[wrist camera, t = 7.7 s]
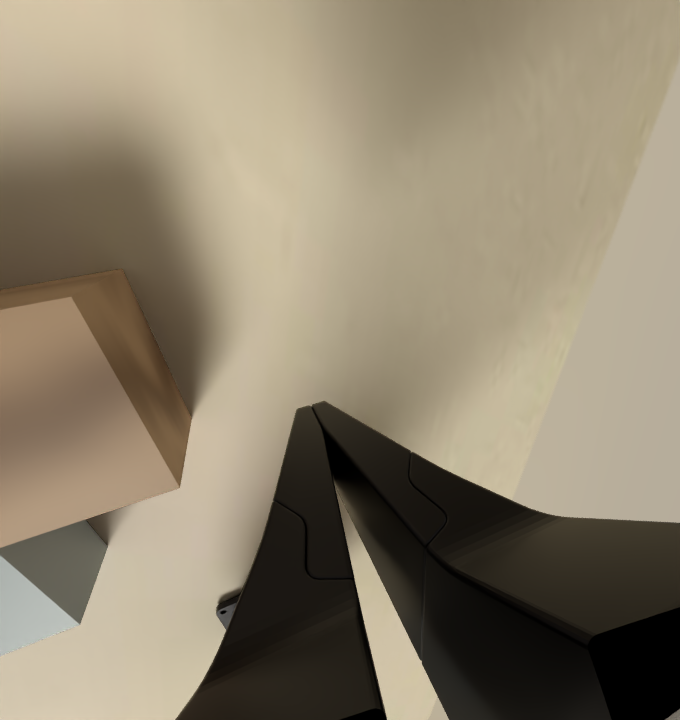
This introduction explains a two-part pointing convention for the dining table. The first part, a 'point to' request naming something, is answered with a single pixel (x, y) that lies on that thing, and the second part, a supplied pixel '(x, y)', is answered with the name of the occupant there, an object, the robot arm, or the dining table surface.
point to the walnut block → (82, 405)
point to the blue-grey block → (47, 583)
